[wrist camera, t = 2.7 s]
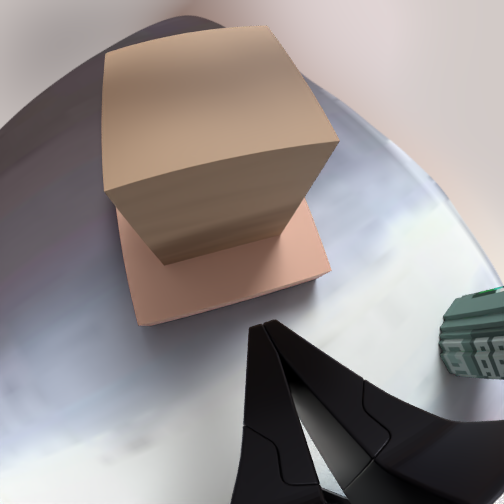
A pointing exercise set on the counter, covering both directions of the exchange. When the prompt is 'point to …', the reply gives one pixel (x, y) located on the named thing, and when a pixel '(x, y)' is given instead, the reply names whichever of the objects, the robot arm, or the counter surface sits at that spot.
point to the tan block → (209, 139)
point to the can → (475, 335)
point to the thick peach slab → (220, 271)
